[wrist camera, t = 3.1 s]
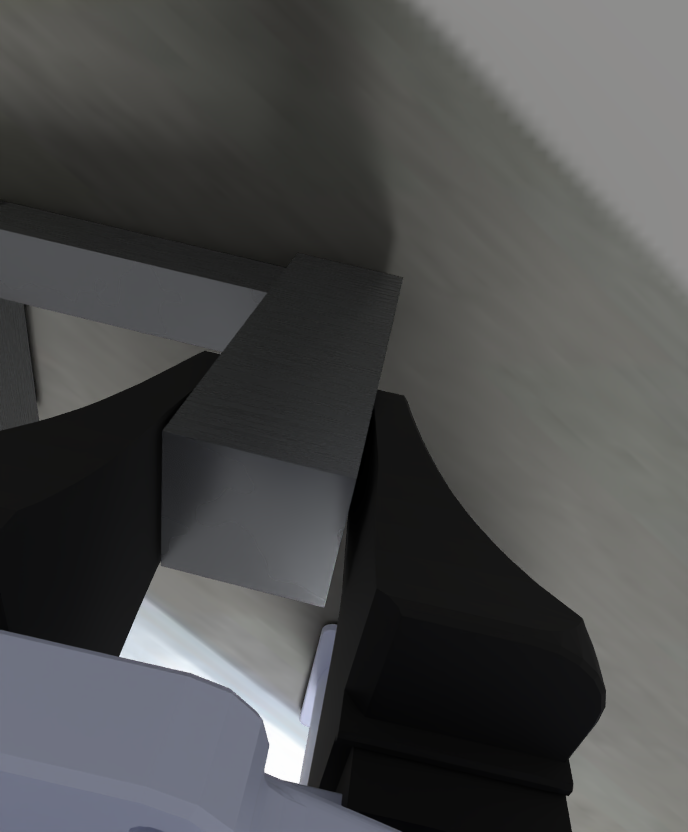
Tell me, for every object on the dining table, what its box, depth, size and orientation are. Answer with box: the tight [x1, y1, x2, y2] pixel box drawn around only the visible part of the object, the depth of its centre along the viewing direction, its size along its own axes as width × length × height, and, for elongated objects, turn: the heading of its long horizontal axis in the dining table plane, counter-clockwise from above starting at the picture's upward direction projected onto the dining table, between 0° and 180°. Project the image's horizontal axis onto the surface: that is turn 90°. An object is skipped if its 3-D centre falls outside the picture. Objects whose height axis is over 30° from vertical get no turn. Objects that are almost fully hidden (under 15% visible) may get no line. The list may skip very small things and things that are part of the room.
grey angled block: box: [0, 200, 403, 607], centre depth 15 cm, size 14×8×9 cm, turn 80°
